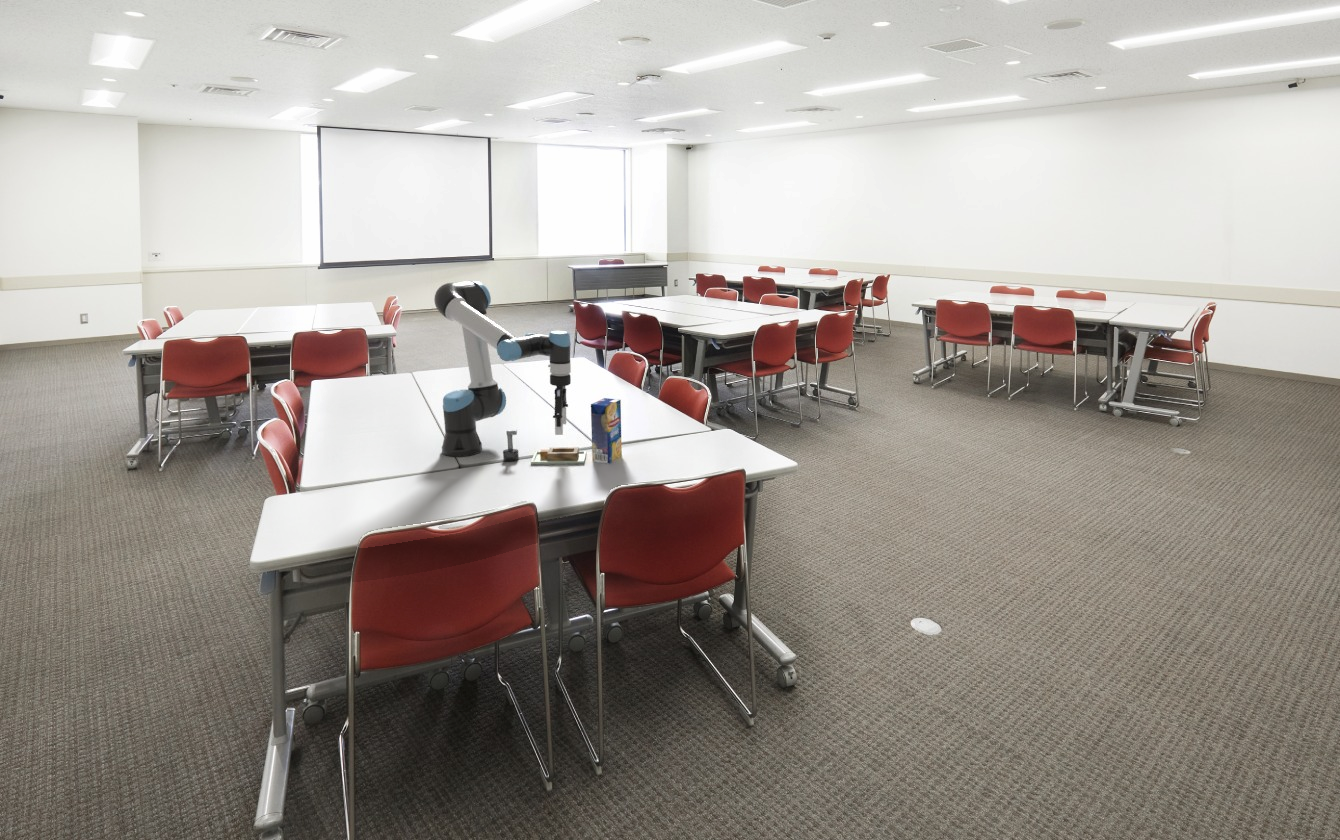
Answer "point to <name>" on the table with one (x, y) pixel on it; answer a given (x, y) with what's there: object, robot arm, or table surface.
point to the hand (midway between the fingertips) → (560, 429)
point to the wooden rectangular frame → (560, 454)
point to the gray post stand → (510, 448)
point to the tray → (538, 461)
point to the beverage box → (606, 430)
